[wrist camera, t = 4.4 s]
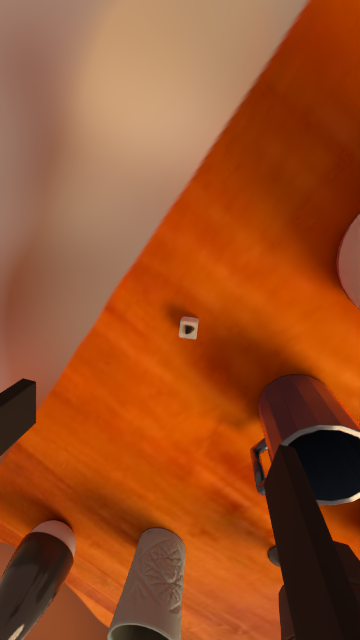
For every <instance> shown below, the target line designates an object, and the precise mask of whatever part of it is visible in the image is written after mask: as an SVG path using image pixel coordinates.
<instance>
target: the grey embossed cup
mask: <svg viewBox="0 0 360 640" xmlns="http://www.w3.org/2000/svg"><path fill="white" fill-rule="evenodd" d="M184 566H185V546H184V543H183V541H182V540H181V539H180V538H179V537H178V536H177V535H176V534H175V533H173V532H171V531H169V530H166V529H162V528H151V529H148V530H146V531H145V532H143V533H142V535H141V537H140V539H139V542H138V545H137V548H136V551H135V555H134V559H133V562H132V565H131V568H130V570H129V573H128V577H127V580H126V583H125V586H124V589H123V592H122V595H121V597H120V599H119V602H118V605H117V608H116V611H115V614H114V617H113V619H112V622H111V625H110V628H109V631H108V635H107V640H181V616H182V606H181V600H182V592H183V575H184Z"/></svg>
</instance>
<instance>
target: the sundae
mask: <svg viewBox="0 0 360 640" xmlns="http://www.w3.org/2000/svg"><path fill="white" fill-rule="evenodd" d="M268 557H269V559H270V561H271V562H272V563H273V564H275V565H276V566H279V567H280V562H279V557H278V552H277V547H274V548H272V549H271V550H270V551H269V553H268ZM279 613H280V624H281V640H296V639H295V634H294V629H293V624H292V619H291V615H290V610H289V605H288V600H287V595H286V591H285V586H284V585H283V586H282V588H281V590H280V592H279Z"/></svg>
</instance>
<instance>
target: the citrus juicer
mask: <svg viewBox="0 0 360 640" xmlns="http://www.w3.org/2000/svg"><path fill="white" fill-rule="evenodd" d="M336 265H337V274H338V277H339V281H340V284H341V286H342V288H343V290H344V292H345V293H346V295H347V297H348V298H349V299H350V300H351V301H352V302H353V303H354V304H355V305H356V306H357V307H358V308H359V309H360V212H359V214H358V215H357V216H356V217H355V219H354V220H353V221H352V222H351V224H350V225H349V227H348V228H347V230H346V232H345V234H344V236H343V238H342V239H341V242H340V245H339V248H338V252H337V260H336Z"/></svg>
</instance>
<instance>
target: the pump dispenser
mask: <svg viewBox="0 0 360 640" xmlns="http://www.w3.org/2000/svg"><path fill="white" fill-rule="evenodd" d="M75 548H76V541H75V536H74V533H73V531H72V530H71V528H70V527H69V526H68V525H66V524H65V523H63V522H61V521H56V520H50V521H46V522H43V523H41V524H40V525H38V526H37V527H35V528H34V529H33V530H32V531H31V532H30V533H29V534H27V535H26V536H25V537H24V538H23V539H22V541H21V542H20V544H19V546H18V547H17V549H16V551H15V552H14V554H13V556H12V558H11V560H10V562H9V563H8V565H7V567H6V569H5V571H4V573H3V575H2V577H1V580H0V640H23V639H24V637H25V636H26V635H27V634H28V633H29V632H30V630H31V629H32V628H33V627H34V625H35V624H36V623H37V622H38V620H39V619H40V617H41V616H42V615H43V614H44V612H45V611H46V610H47V608H48V607H49V605H50V604H51V602H52V601H53V599H54V598H55V596H56V595H57V593H58V591H59V589H60V588H61V586H62V584H63V583H64V581H65V579H66V577H67V576H68V574H69V572H70V570H71V567H72V565H73V558H74V554H75Z"/></svg>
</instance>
